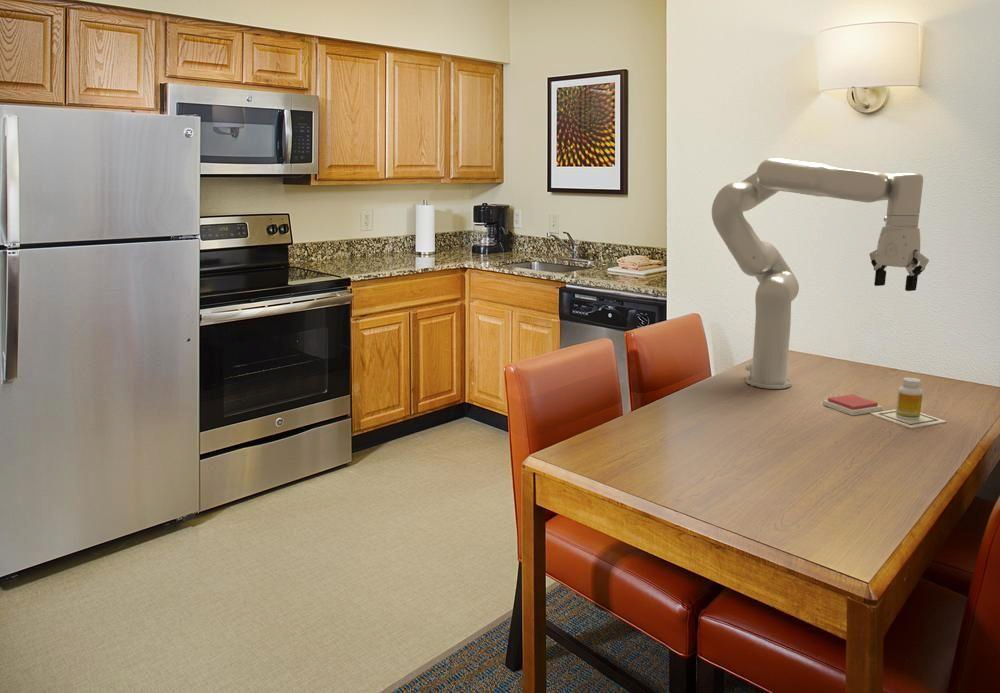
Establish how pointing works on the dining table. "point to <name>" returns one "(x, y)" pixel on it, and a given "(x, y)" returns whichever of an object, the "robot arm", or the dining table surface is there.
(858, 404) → the ink pad
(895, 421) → the marked sheet
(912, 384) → the supplement bottle
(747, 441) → the dining table surface
